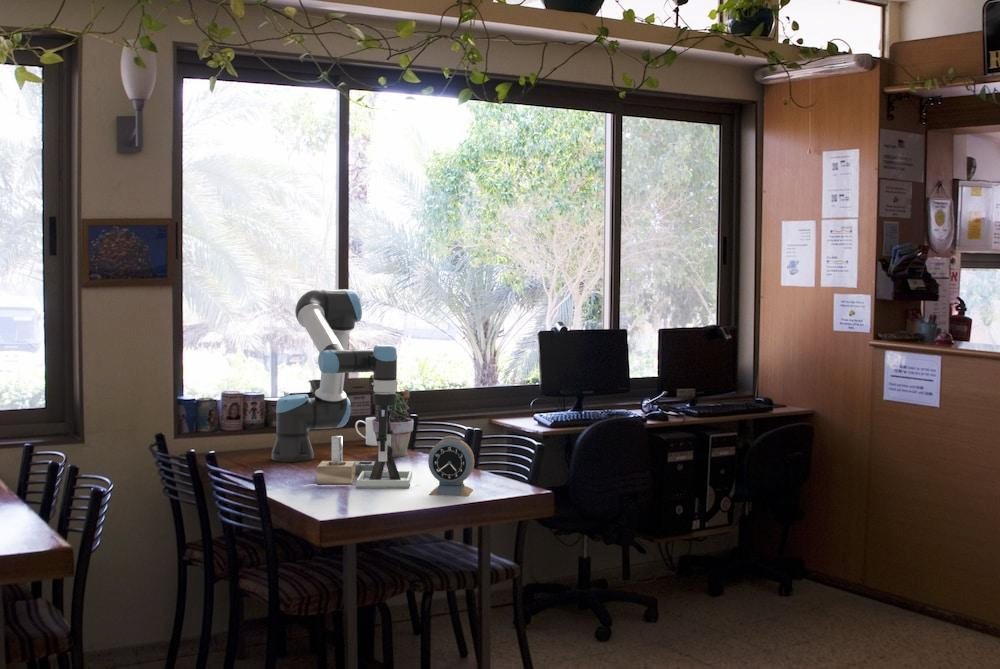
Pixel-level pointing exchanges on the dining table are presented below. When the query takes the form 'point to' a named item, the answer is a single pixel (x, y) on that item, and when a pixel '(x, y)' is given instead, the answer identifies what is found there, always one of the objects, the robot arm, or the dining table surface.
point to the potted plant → (397, 425)
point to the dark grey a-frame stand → (379, 467)
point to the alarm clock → (451, 466)
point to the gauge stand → (363, 466)
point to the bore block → (335, 473)
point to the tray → (384, 483)
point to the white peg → (337, 450)
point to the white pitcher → (368, 432)
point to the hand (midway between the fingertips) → (384, 457)
